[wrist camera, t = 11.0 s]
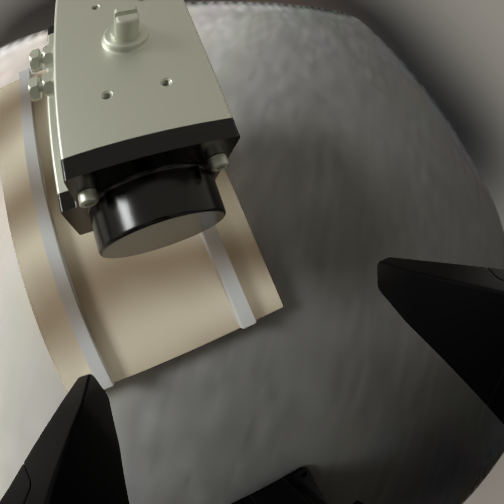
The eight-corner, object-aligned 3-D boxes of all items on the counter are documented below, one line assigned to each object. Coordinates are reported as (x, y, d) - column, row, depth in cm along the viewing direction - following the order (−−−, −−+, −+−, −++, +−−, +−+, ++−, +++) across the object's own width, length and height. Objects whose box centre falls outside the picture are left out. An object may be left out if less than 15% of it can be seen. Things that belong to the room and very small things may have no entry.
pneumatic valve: (146, 91, 19) (169, -62, 8) (195, 253, 18) (276, 167, 7) (68, 111, 17) (37, -38, 6) (104, 283, 16) (25, 240, 5)
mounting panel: (275, 306, 20) (288, 306, 19) (75, 393, 15) (67, 402, 14) (165, 45, 21) (168, 29, 19) (1, 98, 16) (-6, 83, 14)
